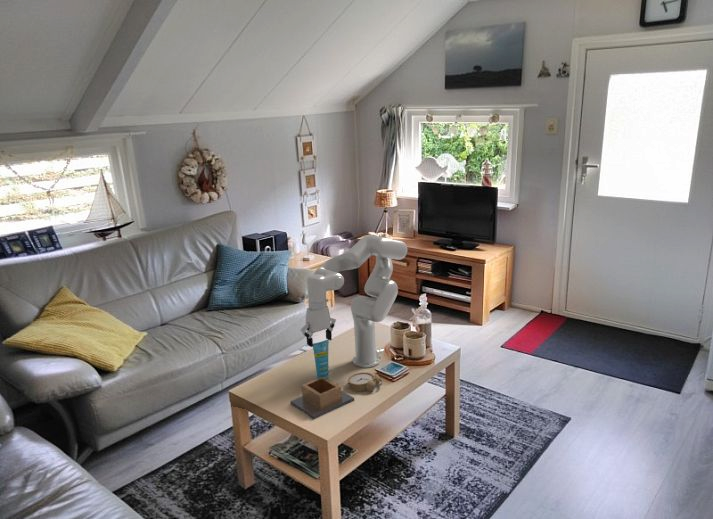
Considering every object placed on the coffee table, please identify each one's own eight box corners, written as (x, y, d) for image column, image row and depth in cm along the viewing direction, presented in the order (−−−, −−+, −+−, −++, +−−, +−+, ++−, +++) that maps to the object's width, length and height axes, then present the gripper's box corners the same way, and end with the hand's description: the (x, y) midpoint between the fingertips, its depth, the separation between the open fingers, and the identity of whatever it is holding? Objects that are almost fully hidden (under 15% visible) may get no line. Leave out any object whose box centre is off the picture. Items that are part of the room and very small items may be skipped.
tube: (318, 387, 234) (315, 345, 229) (313, 382, 238) (309, 341, 233) (333, 381, 238) (330, 340, 233) (327, 377, 242) (325, 337, 237)
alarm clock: (354, 371, 241) (385, 371, 234) (356, 381, 242) (387, 381, 235) (342, 383, 231) (375, 383, 224) (345, 393, 232) (377, 394, 225)
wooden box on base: (330, 386, 234) (329, 371, 232) (354, 400, 222) (353, 384, 220) (290, 403, 222) (289, 387, 220) (313, 419, 210) (312, 402, 208)
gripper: (328, 297, 236) (330, 334, 241) (294, 307, 226) (297, 345, 230) (339, 301, 231) (341, 339, 235) (305, 311, 220) (307, 351, 225)
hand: (319, 342), depth 233 cm, fingers open, 9 cm apart
